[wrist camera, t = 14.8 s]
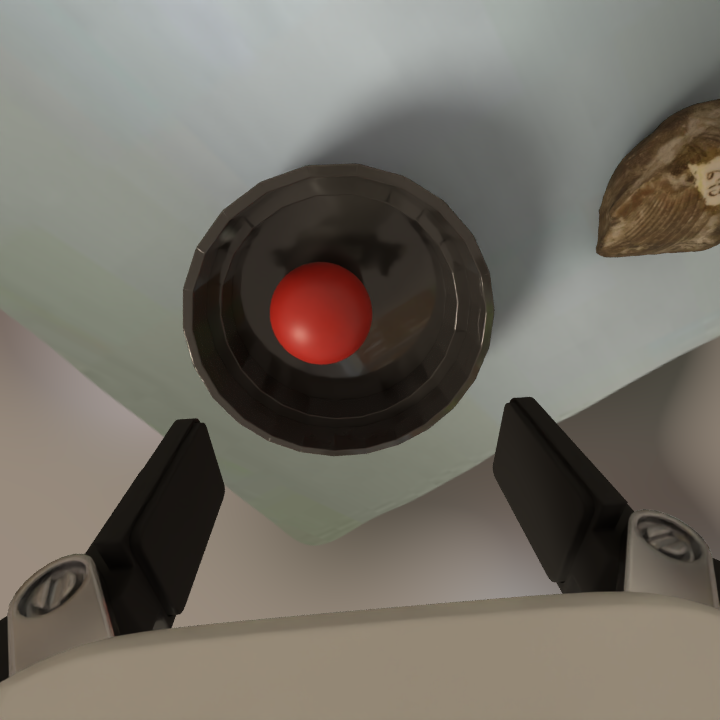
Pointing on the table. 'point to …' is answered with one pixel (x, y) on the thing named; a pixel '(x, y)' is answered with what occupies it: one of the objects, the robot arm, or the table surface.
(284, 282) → the red ball
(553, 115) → the table surface
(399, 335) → the bowl
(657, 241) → the fossilized seashell
